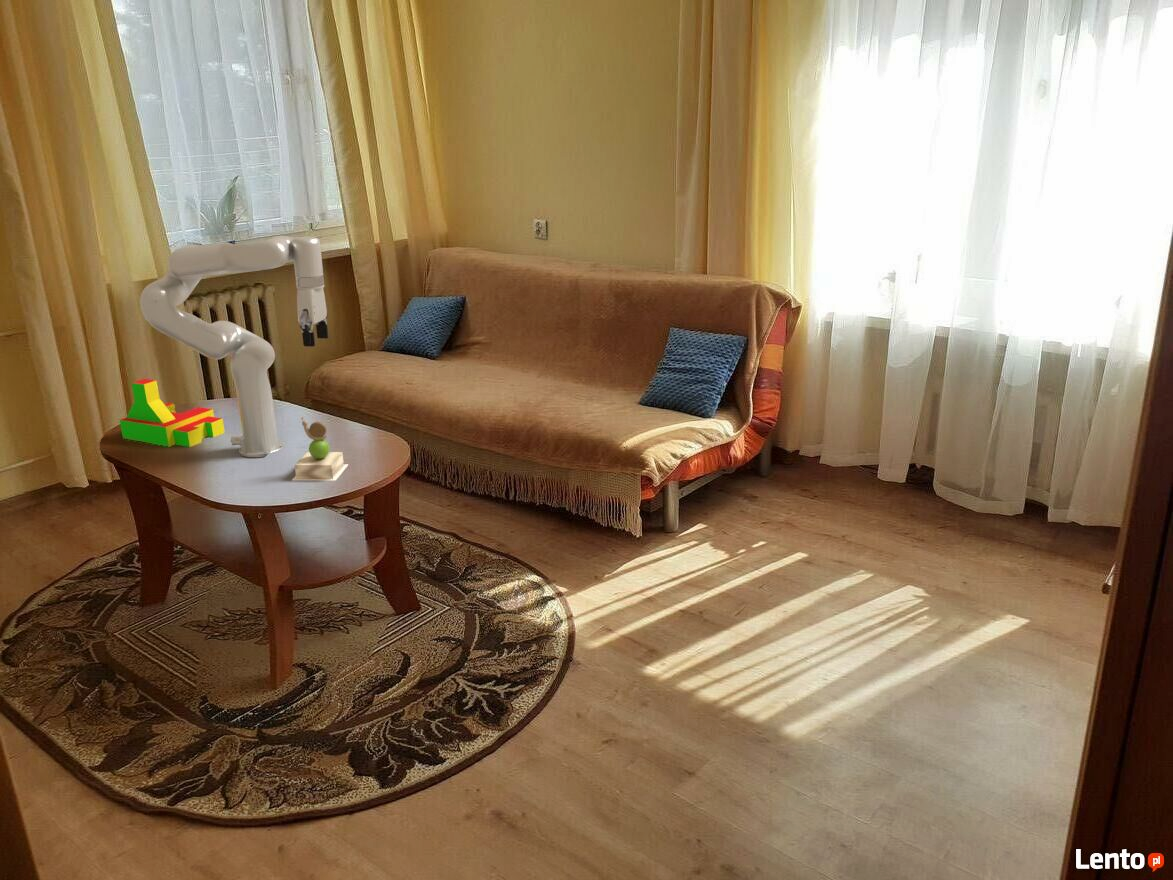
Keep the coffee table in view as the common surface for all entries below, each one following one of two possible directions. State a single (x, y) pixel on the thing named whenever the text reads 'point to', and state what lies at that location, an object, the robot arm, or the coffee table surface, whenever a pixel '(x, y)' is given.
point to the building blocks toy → (166, 419)
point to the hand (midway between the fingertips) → (316, 342)
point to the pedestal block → (319, 466)
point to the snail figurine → (317, 439)
